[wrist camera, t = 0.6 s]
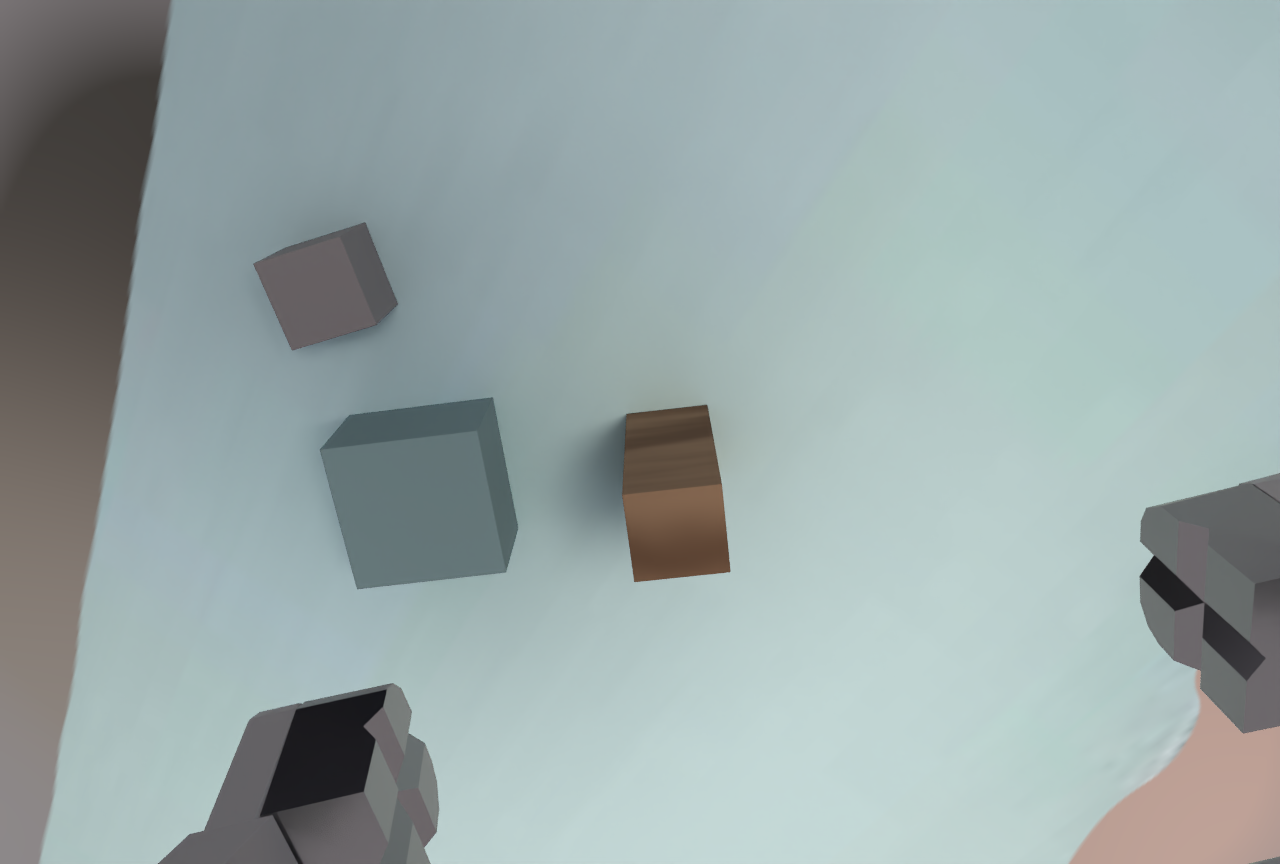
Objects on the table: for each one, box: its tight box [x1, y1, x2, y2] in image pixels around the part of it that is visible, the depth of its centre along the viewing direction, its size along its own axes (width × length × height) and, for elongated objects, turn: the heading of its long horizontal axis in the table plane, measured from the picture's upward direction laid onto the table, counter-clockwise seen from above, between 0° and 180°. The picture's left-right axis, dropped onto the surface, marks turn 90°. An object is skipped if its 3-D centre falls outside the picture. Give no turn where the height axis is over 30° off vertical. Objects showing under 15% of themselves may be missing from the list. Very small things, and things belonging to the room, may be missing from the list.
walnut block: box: [622, 405, 730, 582], centre depth 54 cm, size 5×5×12 cm
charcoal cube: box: [254, 223, 398, 350], centre depth 54 cm, size 5×5×5 cm
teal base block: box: [320, 398, 518, 589], centre depth 58 cm, size 9×9×6 cm
